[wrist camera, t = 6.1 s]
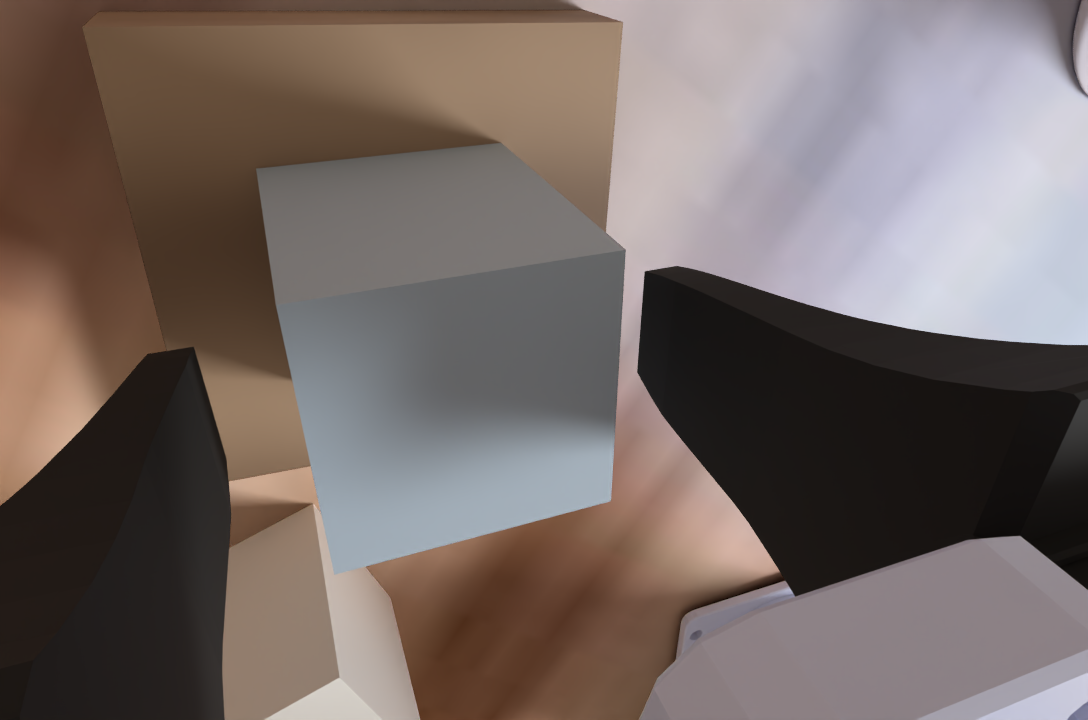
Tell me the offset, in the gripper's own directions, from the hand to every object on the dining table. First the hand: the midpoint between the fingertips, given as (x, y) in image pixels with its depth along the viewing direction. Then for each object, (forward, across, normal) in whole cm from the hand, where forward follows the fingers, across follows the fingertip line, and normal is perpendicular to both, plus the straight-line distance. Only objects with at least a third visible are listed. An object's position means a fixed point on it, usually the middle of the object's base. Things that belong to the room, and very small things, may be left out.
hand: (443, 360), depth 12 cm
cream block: (+6, +4, +10) cm, 12 cm away
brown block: (+6, 0, 0) cm, 6 cm away
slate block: (+4, 0, 0) cm, 4 cm away
